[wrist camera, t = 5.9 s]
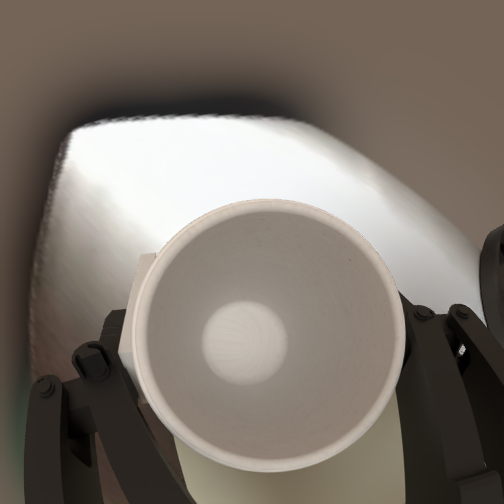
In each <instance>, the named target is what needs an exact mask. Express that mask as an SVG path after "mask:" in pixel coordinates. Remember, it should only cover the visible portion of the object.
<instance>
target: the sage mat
mask: <svg viewBox="0 0 504 504" xmlns="http://www.w3.org/2000/svg"><path fill="white" fill-rule="evenodd" d="M173 436H174V435H173ZM174 441H175V445H176V449H177V453H178V457H179V460H180V464H181V468H182V471H183V475H184V478H185V482H186V485H187V489H188V492H189V493H190V494H191V496H192V497H193V499H194V500H195V501H196V503H197V504H405V473H404V458H403V446H402V436H401V427H400V418H399V411H398V404H397V397H396V391H395V389H394V392H393V394H392V396H391V398H390V400H389V402H388V403H387V405H386V407H385V408H384V410H383V411H382V413H381V414H380V416H379V417H378V418H377V420H376V421H375V422H374V423H373V425H372V426H371V427H370V428H369V429H368V430H367V431H366V432H365V433H364V434H363V435H362V436H361V437H360V438H359V439H358V440H356V441H355V442H354V443H353V444H351V445H350V446H349V447H347V448H346V449H344V450H343V451H341V452H340V453H338V454H336V455H334V456H332V457H331V458H329V459H326V460H324V461H322V462H319V463H317V464H314V465H311V466H308V467H305V468H301V469H296V470H291V471H284V472H252V471H245V470H240V469H235V468H231V467H228V466H225V465H222V464H219V463H217V462H214V461H212V460H210V459H208V458H206V457H204V456H202V455H200V454H198V453H197V452H195V451H193V450H192V449H190V448H189V447H188V446H186V445H185V444H184V443H182V442H181V441H180V440H179V439H177V438H176V437H175V436H174Z"/></svg>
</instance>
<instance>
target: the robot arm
mask: <svg viewBox="0 0 504 504" xmlns="http://www.w3.org/2000/svg"><path fill="white" fill-rule="evenodd" d="M155 258H156V253H151V254H143V255H140V259H139V262H138V266H137V270H136V273H135V277H134V281H133V285H132V289H131V293H130V297H129V302H128V306H127V309H122V310H112V311H111V312H110V314H109V315H108V316H107V317H106V318H105V322H104V325H103V329H102V332H101V336H100V340H99V341H91V342H86V343H84V344H83V345H81V346H79V347H78V348H77V349H76V350H75V351H74V353H73V355H72V364H73V365H74V367H75V369H76V370H77V372H78V374H79V375H80V377H79V378H77V379H74V380H70V381H67V382H63V383H62V382H61V380H60V379H59V378H58V377H57V376H55V375H45V376H42V377H40V378H39V379H37V380H36V381H35V383H34V384H33V386H32V389H31V392H30V399H29V407H28V415H27V423H26V435H25V450H24V493H25V504H104V502H103V496H102V491H101V485H100V479H99V472H98V464H97V455H96V446H95V434H94V432H98V433H99V436H100V439H101V441H102V444H103V447H104V449H105V452H106V454H107V457H108V459H109V461H110V464H111V466H112V468H113V471H114V473H115V475H116V477H117V479H118V481H119V484H120V486H121V488H122V490H123V492H124V494H125V496H126V498H127V500H128V502H129V503H130V504H197V503H196V501H195V500H194V499H193V497H192V496H191V494H190V493H189V492H188V490H187V489H186V487H185V486H184V484H183V483H182V481H181V480H180V478H179V477H178V475H177V474H176V472H175V471H174V469H173V467H172V466H171V464H170V463H169V461H168V459H167V458H166V456H165V454H164V453H163V451H162V449H161V448H160V446H159V444H158V442H157V441H156V439H155V437H154V435H153V433H152V431H151V430H150V428H149V426H148V424H147V422H146V420H145V418H144V416H143V414H142V412H141V410H140V409H139V407H138V396H139V398H140V400H141V401H142V403H143V404H145V403H148V401H147V399H146V397H145V395H144V393H143V391H142V389H141V386H140V384H139V381H138V378H137V375H136V371H135V367H134V362H133V357H132V349H131V323H132V315H133V309H134V305H135V301H136V297H137V294H138V291H139V288H140V286H141V283H142V281H143V279H144V276H145V274H146V273H147V271H148V269H149V267H150V265H151V264H152V262H153V261H154V259H155ZM480 278H481V292H482V299H483V306H484V311H485V316H486V320H487V323H488V327H489V329H488V328H487V327H486V326H485V325H484V323H483V322H482V321H481V320H480V319H479V318H478V316H477V315H476V314H475V313H474V312H473V311H472V310H471V309H470V308H469V307H467V306H465V305H463V304H454V305H451V307H450V309H449V311H448V314H438V315H436V314H435V313H434V311H432V310H431V309H430V308H428V307H425V306H421V305H413V304H412V303H410V302H409V301H408V300H407V299H406V298H405V297H404V296H403V295H402V294H401V293H400V292H399V291H398V293H399V296H400V299H401V303H402V308H403V313H404V320H405V352H404V359H403V364H402V368H401V372H400V376H399V379H398V382H397V384H396V387H395V391H396V397H397V404H398V411H399V418H400V427H401V436H402V446H403V458H404V473H405V504H504V224H503V225H502V226H500V227H498V228H496V229H495V230H493V231H491V232H490V233H489V235H488V236H487V238H486V240H485V242H484V245H483V249H482V254H481V266H480ZM489 330H490V331H489ZM462 344H463V345H464V347H465V348H466V350H465V352H464V354H463V355H460V353H459V350H460V348H461V346H462ZM484 462H485V463H484ZM485 464H486V466H485Z"/></svg>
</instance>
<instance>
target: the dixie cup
mask: <svg viewBox="0 0 504 504" xmlns="http://www.w3.org/2000/svg"><path fill="white" fill-rule="evenodd" d="M131 349H132V357H133V362H134V367H135V371H136V375H137V378H138V381H139V384H140V386H141V389H142V391H143V393H144V395H145V397H146V399H147V401H148V403H149V405H150V406H151V408H152V410H153V411H154V413H155V414H156V415H157V417H158V418H159V419H160V421H161V422H162V423H163V424H164V426H165V427H166V428H167V429H168V430H169V431H170V432H171V433H172V434H173V435H174V436H175V437H176V438H177V439H179V440H180V441H181V442H182V443H184V444H185V445H186V446H188V447H189V448H190V449H192V450H193V451H195V452H197V453H198V454H200V455H202V456H204V457H206V458H208V459H210V460H212V461H214V462H217V463H219V464H222V465H225V466H228V467H231V468H235V469H240V470H245V471H252V472H284V471H291V470H296V469H301V468H305V467H308V466H311V465H314V464H317V463H319V462H322V461H324V460H326V459H329V458H331V457H332V456H334V455H336V454H338V453H340V452H341V451H343V450H344V449H346V448H347V447H349V446H350V445H351V444H353V443H354V442H355V441H356V440H358V439H359V438H360V437H361V436H362V435H363V434H364V433H365V432H366V431H367V430H368V429H369V428H370V427H371V426H372V425H373V423H374V422H375V421H376V420H377V418H378V417H379V416H380V414H381V413H382V411H383V410H384V408H385V407H386V405H387V403H388V402H389V400H390V398H391V396H392V394H393V392H394V389H395V387H396V384H397V382H398V379H399V376H400V372H401V368H402V364H403V359H404V352H405V320H404V313H403V308H402V303H401V299H400V296H399V293H398V290H397V287H396V285H395V282H394V280H393V278H392V276H391V274H390V272H389V270H388V268H387V266H386V265H385V263H384V262H383V260H382V259H381V257H380V256H379V254H378V253H377V252H376V250H375V249H374V248H373V247H372V246H371V245H370V243H369V242H368V241H367V240H366V239H365V238H364V237H363V236H362V235H360V234H359V233H358V232H357V231H356V230H355V229H353V228H352V227H351V226H349V225H348V224H347V223H345V222H344V221H342V220H341V219H339V218H337V217H335V216H334V215H332V214H330V213H328V212H326V211H323V210H321V209H319V208H316V207H313V206H310V205H307V204H303V203H299V202H295V201H289V200H281V199H255V200H247V201H241V202H237V203H233V204H229V205H226V206H223V207H220V208H218V209H215V210H213V211H211V212H208V213H206V214H205V215H203V216H201V217H199V218H197V219H196V220H194V221H193V222H191V223H190V224H188V225H187V226H186V227H184V228H183V229H182V230H180V231H179V232H178V233H177V234H176V235H175V236H174V237H173V238H172V239H171V240H170V241H169V242H168V243H167V244H166V245H165V246H164V247H163V248H162V250H161V251H160V252H159V254H158V255H157V256H156V258H155V259H154V261H153V262H152V264H151V265H150V267H149V269H148V271H147V273H146V274H145V276H144V279H143V281H142V283H141V286H140V288H139V291H138V294H137V297H136V301H135V305H134V309H133V315H132V323H131Z"/></svg>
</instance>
